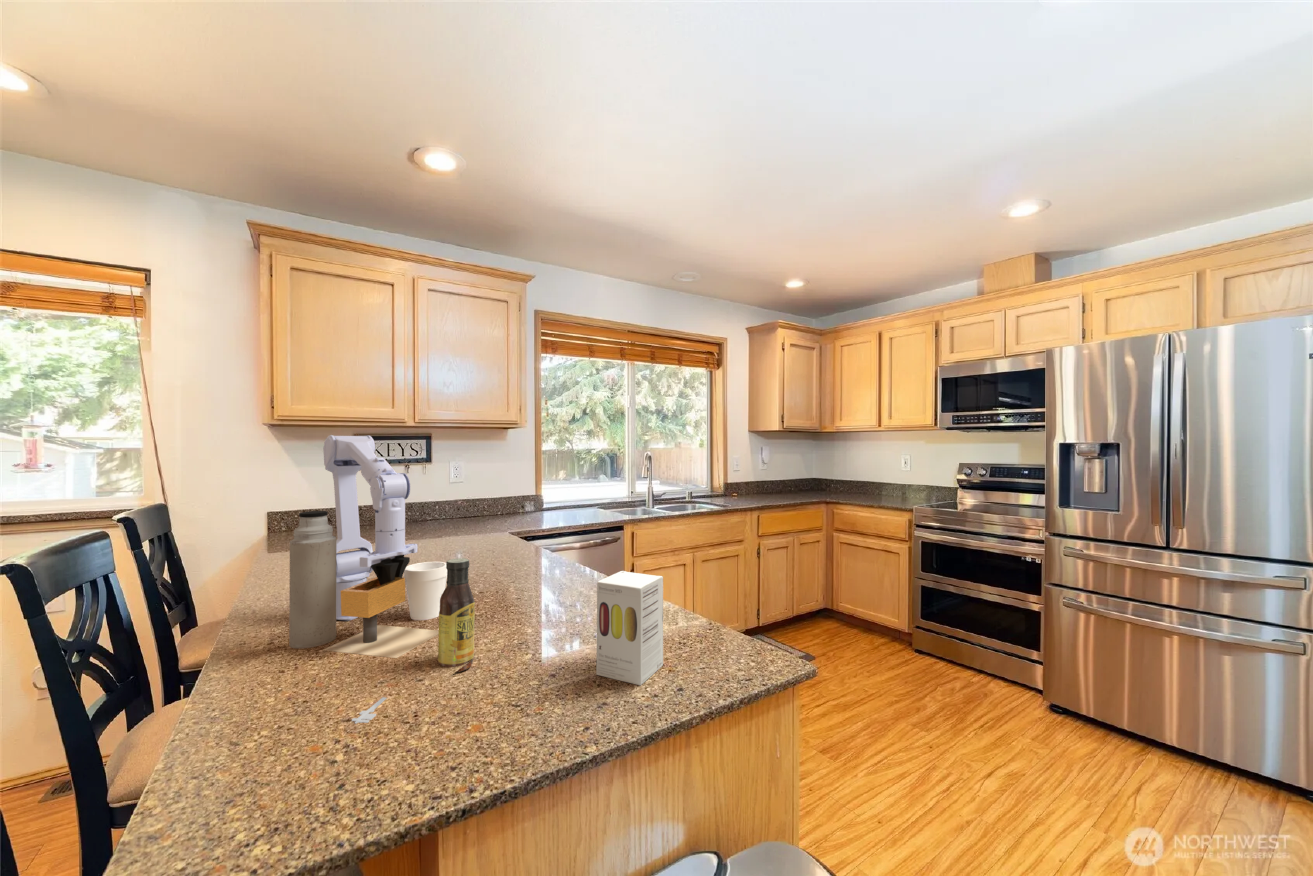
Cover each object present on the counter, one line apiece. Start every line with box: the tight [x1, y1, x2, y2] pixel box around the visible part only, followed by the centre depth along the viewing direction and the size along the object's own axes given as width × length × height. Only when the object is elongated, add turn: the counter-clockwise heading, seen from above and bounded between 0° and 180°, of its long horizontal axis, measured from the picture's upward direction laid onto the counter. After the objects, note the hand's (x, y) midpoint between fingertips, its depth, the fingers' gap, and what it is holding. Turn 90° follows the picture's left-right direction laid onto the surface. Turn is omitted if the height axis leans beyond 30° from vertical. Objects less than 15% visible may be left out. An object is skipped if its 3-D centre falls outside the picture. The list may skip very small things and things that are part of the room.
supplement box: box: [595, 570, 664, 686], centre depth 92 cm, size 10×9×17 cm
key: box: [351, 697, 388, 724], centre depth 81 cm, size 12×1×3 cm
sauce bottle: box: [437, 557, 476, 673], centre depth 94 cm, size 6×6×20 cm
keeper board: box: [323, 614, 439, 659], centre depth 103 cm, size 17×14×8 cm
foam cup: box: [403, 561, 447, 621], centre depth 118 cm, size 10×9×13 cm
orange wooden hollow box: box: [341, 576, 406, 618], centre depth 104 cm, size 10×6×5 cm, turn 167°
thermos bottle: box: [288, 510, 337, 649], centre depth 103 cm, size 8×8×28 cm
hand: (390, 593), depth 108 cm, fingers closed on orange wooden hollow box
